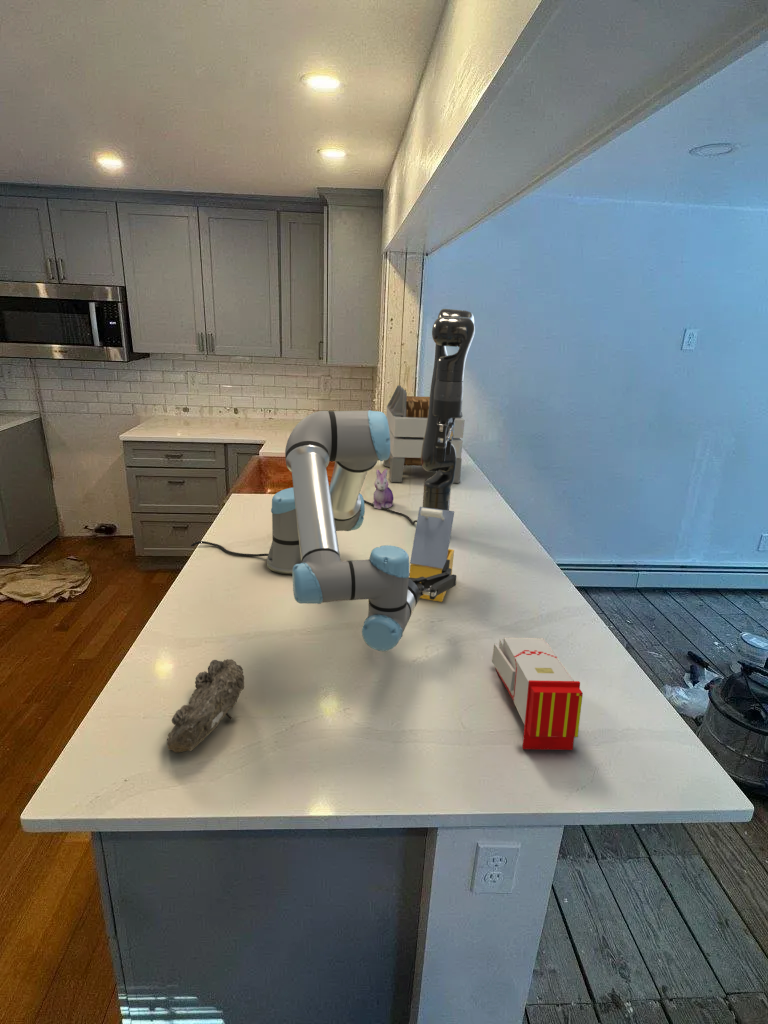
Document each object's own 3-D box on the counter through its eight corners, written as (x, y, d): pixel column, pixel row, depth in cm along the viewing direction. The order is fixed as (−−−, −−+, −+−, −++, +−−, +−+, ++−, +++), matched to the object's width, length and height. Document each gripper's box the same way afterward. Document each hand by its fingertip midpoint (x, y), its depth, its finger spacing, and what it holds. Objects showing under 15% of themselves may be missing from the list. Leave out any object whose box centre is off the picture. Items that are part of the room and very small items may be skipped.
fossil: (192, 660, 117) (244, 628, 112) (224, 691, 120) (276, 661, 115) (142, 746, 98) (202, 712, 93) (182, 779, 101) (242, 748, 96)
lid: (420, 507, 157) (414, 500, 148) (454, 511, 154) (451, 504, 146) (410, 563, 154) (404, 559, 145) (445, 569, 152) (441, 565, 143)
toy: (540, 621, 128) (592, 689, 99) (535, 675, 131) (584, 757, 102) (487, 620, 128) (523, 687, 98) (483, 674, 130) (517, 756, 101)
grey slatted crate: (382, 463, 289) (386, 382, 275) (445, 464, 293) (451, 384, 279) (390, 482, 257) (394, 392, 243) (460, 483, 261) (468, 394, 247)
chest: (419, 573, 171) (422, 544, 167) (451, 578, 168) (454, 549, 165) (408, 596, 157) (410, 565, 154) (442, 602, 155) (444, 570, 151)
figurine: (377, 511, 221) (379, 474, 216) (366, 503, 229) (367, 467, 224) (399, 508, 225) (401, 471, 220) (387, 500, 233) (388, 465, 228)
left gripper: (344, 604, 126) (372, 565, 145) (455, 626, 120) (469, 582, 139) (344, 574, 123) (373, 538, 143) (458, 594, 117) (472, 554, 136)
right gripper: (458, 402, 141) (452, 466, 146) (466, 395, 154) (461, 453, 159) (428, 400, 143) (424, 462, 148) (439, 393, 156) (434, 450, 161)
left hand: (420, 560), depth 141 cm, fingers open, 13 cm apart
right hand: (443, 458), depth 154 cm, fingers open, 8 cm apart
